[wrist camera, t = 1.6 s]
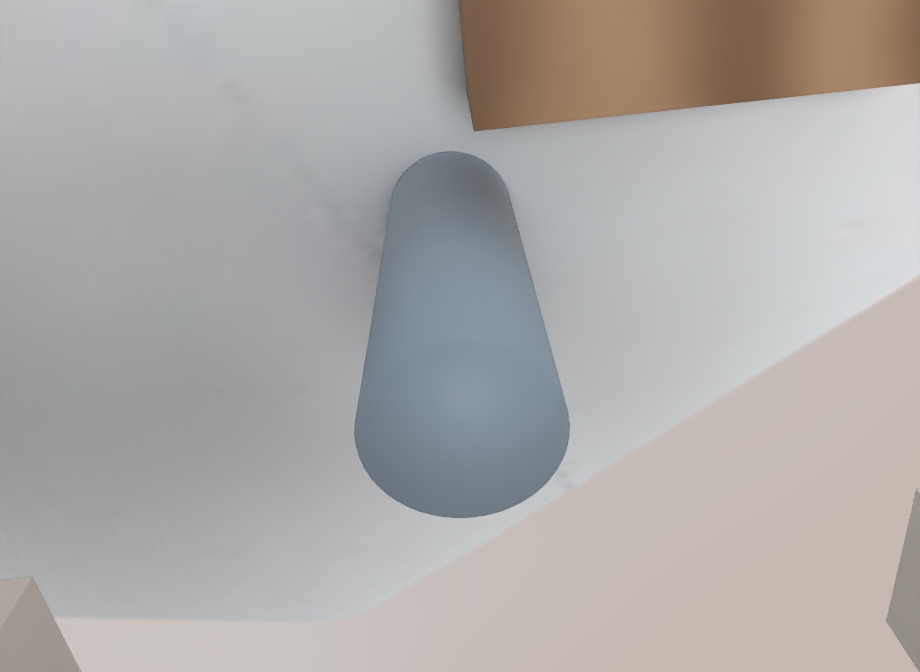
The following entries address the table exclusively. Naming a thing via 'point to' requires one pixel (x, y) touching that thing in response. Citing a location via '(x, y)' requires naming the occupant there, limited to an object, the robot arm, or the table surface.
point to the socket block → (675, 54)
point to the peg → (458, 351)
